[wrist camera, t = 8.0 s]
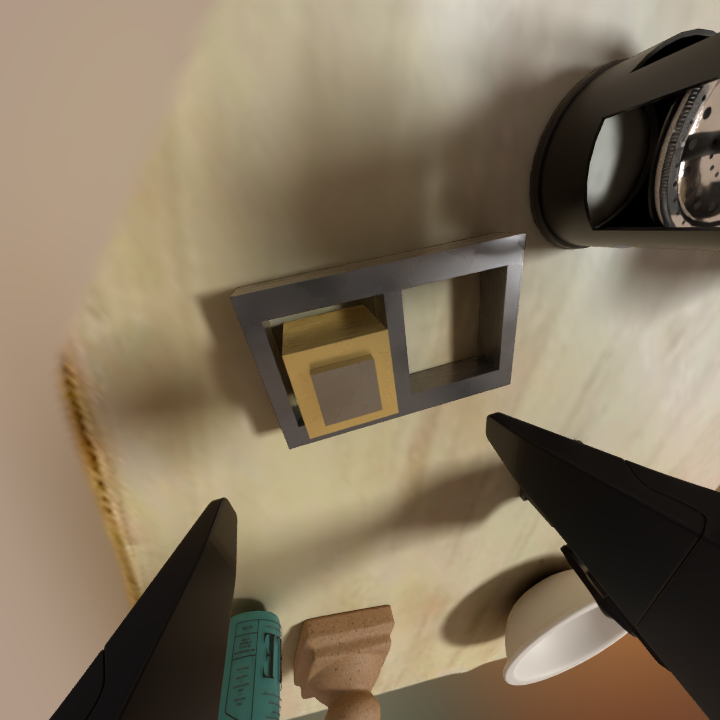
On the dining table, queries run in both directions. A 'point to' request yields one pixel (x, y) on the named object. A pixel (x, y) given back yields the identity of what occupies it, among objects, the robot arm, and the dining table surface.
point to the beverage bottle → (252, 668)
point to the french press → (665, 157)
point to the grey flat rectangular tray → (394, 321)
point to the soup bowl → (555, 629)
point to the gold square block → (340, 369)
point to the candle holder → (344, 661)
